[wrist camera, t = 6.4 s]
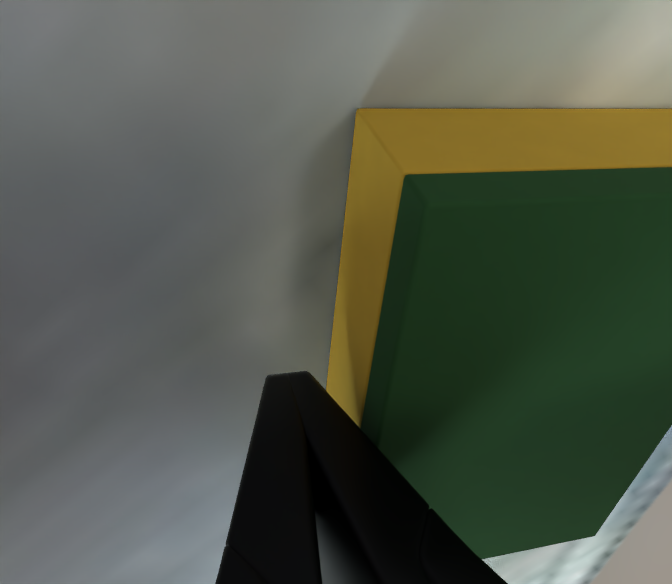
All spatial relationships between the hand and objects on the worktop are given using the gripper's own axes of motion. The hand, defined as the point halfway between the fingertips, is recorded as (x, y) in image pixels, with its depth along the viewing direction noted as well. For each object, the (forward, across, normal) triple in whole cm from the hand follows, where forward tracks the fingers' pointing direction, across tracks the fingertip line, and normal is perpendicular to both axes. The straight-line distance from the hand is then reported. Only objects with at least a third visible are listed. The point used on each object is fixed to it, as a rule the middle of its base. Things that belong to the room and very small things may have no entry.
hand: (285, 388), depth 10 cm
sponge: (+1, -4, 0) cm, 4 cm away
